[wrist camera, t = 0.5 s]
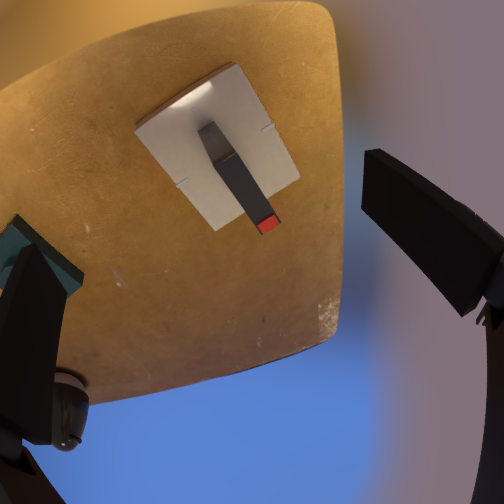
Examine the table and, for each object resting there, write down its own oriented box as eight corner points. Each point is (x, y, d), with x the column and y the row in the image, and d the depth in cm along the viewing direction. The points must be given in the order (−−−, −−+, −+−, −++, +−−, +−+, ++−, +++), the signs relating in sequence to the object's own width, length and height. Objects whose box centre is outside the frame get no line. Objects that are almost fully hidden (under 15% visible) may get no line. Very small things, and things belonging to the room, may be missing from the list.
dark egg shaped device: (99, 382, 50) (103, 454, 39) (69, 395, 51) (70, 460, 39) (59, 359, 43) (55, 438, 32) (32, 374, 44) (26, 445, 33)
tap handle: (196, 131, 26) (213, 168, 19) (213, 120, 26) (237, 152, 19) (234, 185, 31) (262, 237, 24) (250, 175, 30) (282, 224, 23)
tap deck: (134, 124, 27) (132, 133, 24) (231, 61, 25) (239, 62, 23) (210, 218, 36) (214, 233, 33) (291, 166, 34) (302, 177, 32)
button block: (-17, 258, 28) (-27, 278, 25) (17, 213, 27) (5, 233, 24) (44, 308, 36) (40, 329, 33) (84, 274, 35) (80, 296, 32)
